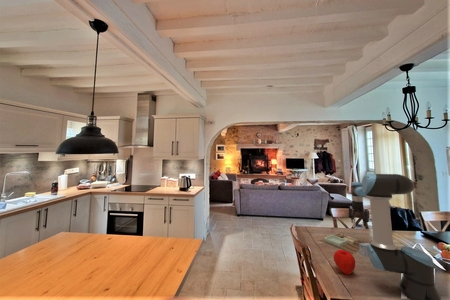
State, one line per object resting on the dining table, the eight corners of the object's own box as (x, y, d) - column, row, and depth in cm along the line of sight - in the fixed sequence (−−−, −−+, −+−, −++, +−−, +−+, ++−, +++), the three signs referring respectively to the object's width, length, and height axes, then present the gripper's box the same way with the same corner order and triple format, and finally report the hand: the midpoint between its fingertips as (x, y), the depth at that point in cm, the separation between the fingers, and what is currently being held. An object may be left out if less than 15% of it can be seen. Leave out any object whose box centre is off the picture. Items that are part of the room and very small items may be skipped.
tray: (339, 247, 143) (339, 243, 143) (324, 241, 154) (323, 237, 155) (347, 243, 148) (347, 240, 149) (332, 237, 160) (332, 234, 160)
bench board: (352, 255, 133) (351, 247, 133) (320, 241, 156) (319, 234, 156) (370, 246, 146) (370, 238, 146) (338, 234, 169) (338, 228, 169)
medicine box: (369, 254, 134) (368, 242, 135) (374, 257, 130) (373, 245, 130) (359, 254, 134) (358, 243, 134) (364, 258, 130) (363, 246, 130)
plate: (352, 244, 147) (352, 241, 147) (342, 240, 154) (342, 238, 154) (357, 242, 150) (357, 239, 151) (347, 238, 158) (347, 236, 158)
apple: (330, 269, 117) (329, 248, 118) (342, 265, 122) (341, 245, 122) (347, 280, 106) (346, 258, 107) (360, 275, 110) (359, 254, 111)
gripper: (373, 202, 140) (375, 231, 139) (347, 198, 158) (348, 224, 157) (369, 203, 137) (370, 233, 136) (342, 199, 154) (344, 225, 153)
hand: (359, 228), depth 146 cm, fingers open, 7 cm apart
